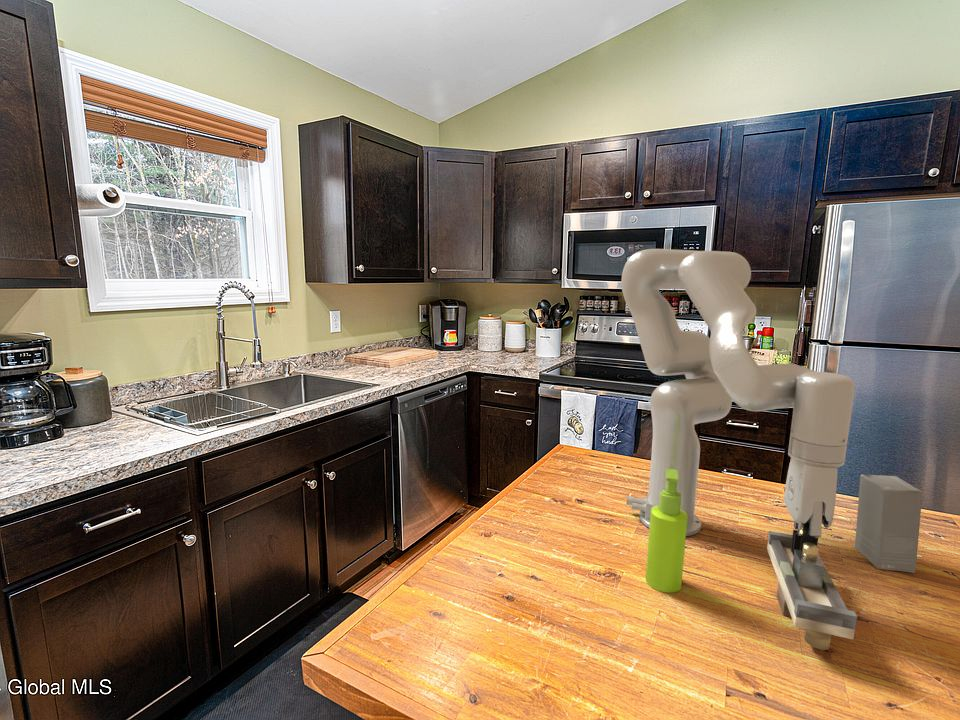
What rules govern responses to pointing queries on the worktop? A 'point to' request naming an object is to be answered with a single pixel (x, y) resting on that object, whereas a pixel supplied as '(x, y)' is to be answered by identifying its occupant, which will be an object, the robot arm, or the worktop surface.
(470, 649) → the worktop surface
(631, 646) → the worktop surface
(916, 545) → the skincare box
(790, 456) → the robot arm
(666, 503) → the soap dispenser
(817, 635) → the stand
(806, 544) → the rider
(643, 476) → the worktop surface
